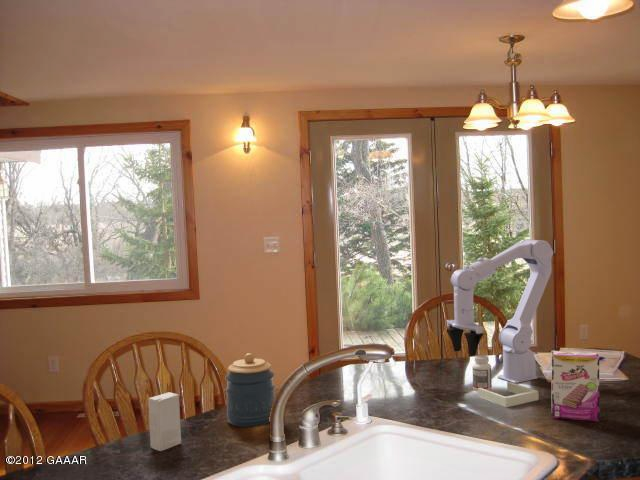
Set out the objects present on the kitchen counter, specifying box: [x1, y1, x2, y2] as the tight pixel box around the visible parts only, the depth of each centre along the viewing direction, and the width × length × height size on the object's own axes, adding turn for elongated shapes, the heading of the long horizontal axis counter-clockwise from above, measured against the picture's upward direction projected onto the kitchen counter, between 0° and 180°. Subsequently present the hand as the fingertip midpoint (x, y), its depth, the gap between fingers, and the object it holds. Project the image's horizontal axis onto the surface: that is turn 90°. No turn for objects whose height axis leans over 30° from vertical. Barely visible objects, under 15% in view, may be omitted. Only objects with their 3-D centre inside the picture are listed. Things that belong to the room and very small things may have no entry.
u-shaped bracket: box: [477, 381, 540, 408], centre depth 171 cm, size 12×11×2 cm
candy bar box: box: [550, 350, 600, 423], centre depth 153 cm, size 11×5×16 cm, turn 71°
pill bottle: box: [472, 354, 493, 392], centre depth 180 cm, size 5×5×10 cm
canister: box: [224, 352, 276, 428], centre depth 160 cm, size 13×13×18 cm
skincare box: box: [147, 391, 182, 452], centre depth 144 cm, size 6×4×12 cm
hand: (464, 353), depth 186 cm, fingers open, 6 cm apart
